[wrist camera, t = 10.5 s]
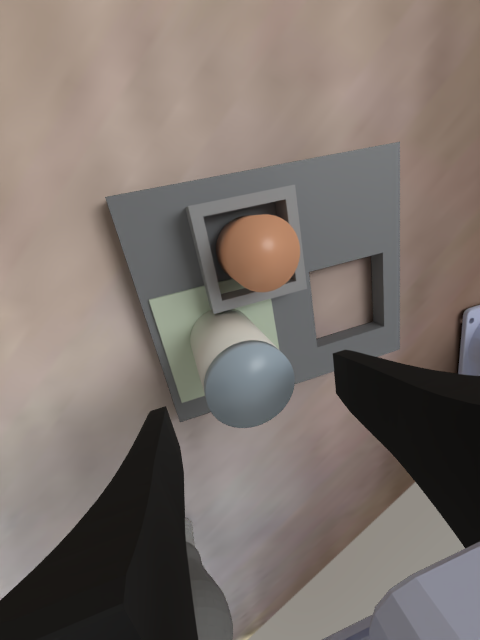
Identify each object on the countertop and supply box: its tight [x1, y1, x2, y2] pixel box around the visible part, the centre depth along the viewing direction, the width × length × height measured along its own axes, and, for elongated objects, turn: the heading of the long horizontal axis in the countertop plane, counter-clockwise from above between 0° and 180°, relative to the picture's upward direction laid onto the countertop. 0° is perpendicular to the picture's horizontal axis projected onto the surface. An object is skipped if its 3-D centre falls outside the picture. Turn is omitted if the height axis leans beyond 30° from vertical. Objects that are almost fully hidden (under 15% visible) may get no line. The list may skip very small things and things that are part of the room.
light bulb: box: [185, 518, 233, 640], centre depth 19 cm, size 6×6×10 cm
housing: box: [105, 142, 400, 422], centre depth 18 cm, size 14×17×3 cm
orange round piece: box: [216, 214, 300, 292], centre depth 15 cm, size 4×4×3 cm
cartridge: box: [190, 309, 295, 428], centre depth 15 cm, size 4×4×6 cm
